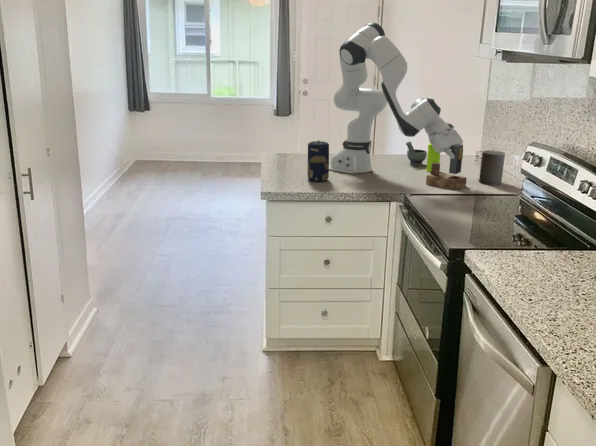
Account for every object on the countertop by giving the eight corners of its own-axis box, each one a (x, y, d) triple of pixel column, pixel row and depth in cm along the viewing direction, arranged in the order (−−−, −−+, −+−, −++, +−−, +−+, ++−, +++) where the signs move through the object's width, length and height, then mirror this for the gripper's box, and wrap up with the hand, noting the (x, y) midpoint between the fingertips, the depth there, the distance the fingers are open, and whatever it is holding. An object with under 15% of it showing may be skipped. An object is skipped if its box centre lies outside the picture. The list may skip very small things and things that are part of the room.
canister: (331, 178, 270) (332, 139, 264) (323, 183, 262) (324, 142, 256) (312, 176, 274) (313, 137, 268) (303, 181, 265) (304, 141, 260)
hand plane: (426, 184, 261) (427, 164, 259) (434, 181, 267) (436, 161, 264) (457, 189, 252) (459, 169, 249) (465, 186, 258) (467, 166, 255)
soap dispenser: (441, 172, 284) (444, 130, 278) (426, 172, 285) (429, 130, 279) (440, 170, 289) (444, 129, 283) (426, 169, 290) (429, 128, 284)
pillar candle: (475, 182, 265) (479, 149, 260) (483, 178, 272) (487, 146, 267) (497, 186, 259) (501, 152, 254) (504, 182, 267) (508, 149, 262)
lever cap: (449, 173, 255) (451, 145, 251) (454, 171, 259) (456, 143, 255) (457, 174, 253) (459, 146, 249) (462, 172, 257) (464, 144, 253)
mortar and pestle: (420, 162, 307) (422, 139, 303) (429, 166, 299) (431, 142, 295) (400, 163, 304) (402, 140, 300) (408, 167, 296) (410, 143, 292)
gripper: (432, 129, 247) (451, 156, 244) (454, 124, 262) (473, 148, 259) (421, 139, 251) (441, 165, 248) (444, 133, 266) (462, 157, 263)
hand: (457, 156), depth 254 cm, fingers closed on lever cap, 5 cm apart
